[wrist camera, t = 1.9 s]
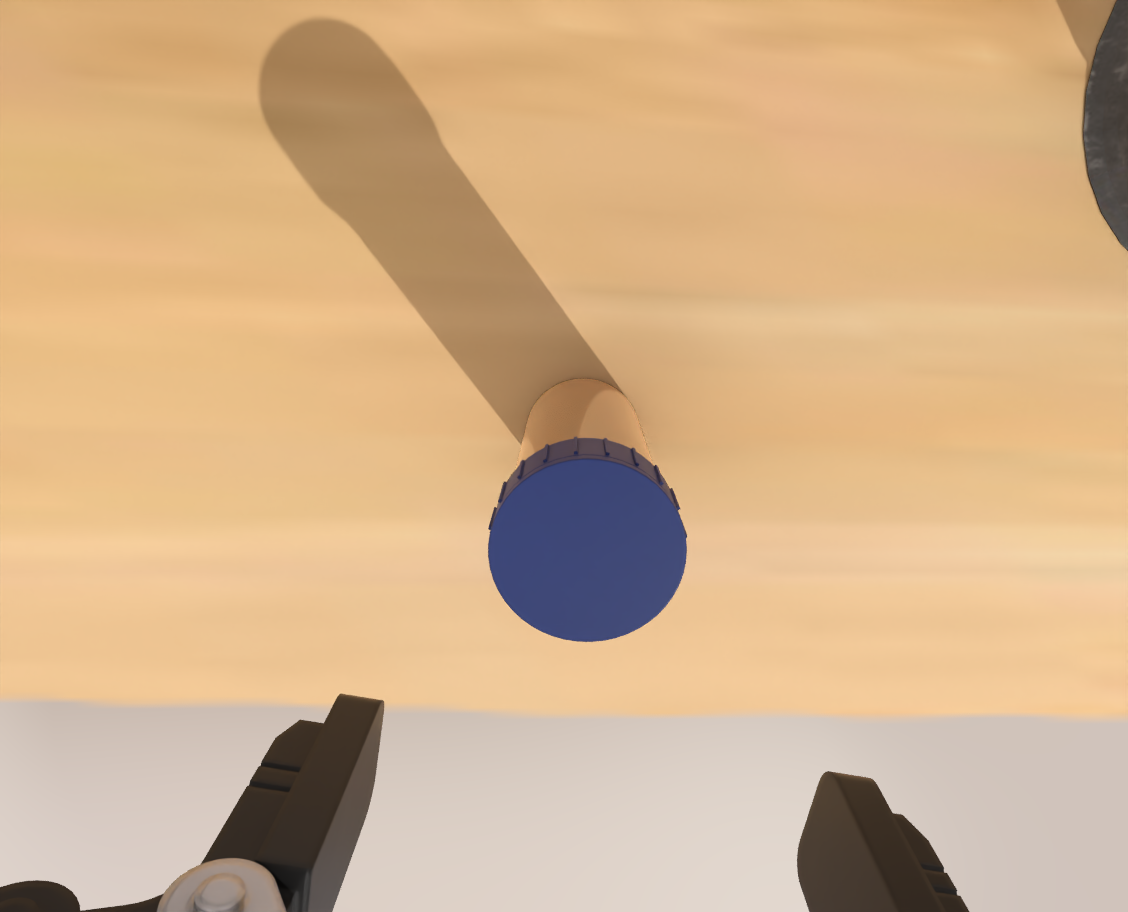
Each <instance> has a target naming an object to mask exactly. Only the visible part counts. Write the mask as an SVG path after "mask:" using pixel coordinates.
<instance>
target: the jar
mask: <svg viewBox="0 0 1128 912" xmlns="http://www.w3.org/2000/svg"><path fill="white" fill-rule="evenodd" d="M576 436H577V438H598V439H604V438H607V439H608V440H609V441H613V442H616V443H620V444H622V445H624V446H626V447H629V448H631V449H632V447H633V448H635V449H636V452H637V453H639V454H641V455H642V456H643V457H645V458H646V459H647V460H648V461H650V462H651V463H652V460H651V457H650V454H649V451H648V448H647V445H646V442H645V439H644V436H643V433H642V430H641V427H640V424H639V421H638V418H637V415H636V412H635V410H634V408H633V406H632V405H631V403H630V402H629V401H628V399H627V398H626V397H625V396H624V395H623V394H622V393H621V392H620V391H618V390H617V389H616V388H614V387H613V386H611V385H609V384H607V383H605V382H602V381H598V380H594V379H586V378H579V379H572V380H567V381H564V382H561V383H559V384H557V385H555V386H553V387H552V388H550V389H549V390H547V391H546V392H545V393H544V394H543V395H542V396H541V397H540V398H539V399H538V400H537V401H536V403H535V404H534V406H533V408H532V410H531V412H530V414H529V417H528V420H527V424H526V428H525V432H524V436H523V440H522V444H521V448H520V452H519V456H518V460H517V464H516V468H515V470H516V469H517V468H518V466H519V465H520V462H521V461H522V460H524V461H525V460H526V459H527V458H528V457H530V456H531V455H533V454H534V453H535V452H537V451H539V450H541V449H543V448H545V445H546V444H548V445H551V444H554V443H557V442H560V441H564V440H569V439H574V437H576ZM652 465H653V463H652Z"/></svg>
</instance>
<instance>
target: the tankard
mask: <svg viewBox="0 0 1128 912" xmlns="http://www.w3.org/2000/svg"><path fill="white" fill-rule="evenodd" d="M1084 143H1085V151H1086V159H1087V166H1088V174H1089V179H1090V181H1091V184H1092V187H1093V190H1094V193H1095V196H1096V198H1097V201H1098V204H1099V207H1100V210H1101V213H1102V214H1103V216H1104V218H1105V219H1106V221H1107V222H1108V224H1109V225H1110V227H1111V229H1112V230H1113V232H1114V233H1115V235H1116V236H1117V238H1118V240H1119V241H1120V243H1121V244H1122V245H1123V246H1124V247H1125V248H1126V249H1127V250H1128V0H1117V2H1116V4H1115V6H1114V9H1113V11H1112V13H1111V16H1110V18H1109V20H1108V23H1107V25H1106V27H1105V30H1104V32H1103V34H1102V37H1101V39H1100V41H1099V44H1098V46H1097V50H1096V54H1095V58H1094V62H1093V66H1092V70H1091V75H1090V79H1089V83H1088V87H1087V91H1086V105H1085V120H1084Z"/></svg>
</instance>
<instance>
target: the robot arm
mask: <svg viewBox="0 0 1128 912" xmlns="http://www.w3.org/2000/svg"><path fill="white" fill-rule="evenodd" d="M383 714H384V701H383V700H376V699H370V698H364V697H358V696H352V695H346V694H339V696H338V697H337V699H336V701H335V703H334V705H333V707H332V709H331V711H330V713H329V715H328V717H327V718H326V720H325V722H324V723H317V722H311V721H304V720H299V721H298V722H297V723H295V724H294V725H293V726H291V727H290V728H289V729H287V730H286V731H284V732H283V733H282V734H280V735H279V736H278V737H277V738H275V740H274V742H273V743H272V745H271V747H270V748H269V750H268V752H267V753H266V755H265V757H264V759H263V760H262V763H261V766H259V767H258V769H257V770H256V772H255V774H254V775H253V777H252V779H251V780H250V784H249V786H247V787H246V789H245V791H244V792H243V794H242V796H241V797H240V799H239V801H238V803H237V804H236V806H235V808H234V809H233V811H232V813H231V814H230V816H229V818H228V820H227V821H226V823H225V825H224V826H223V828H222V830H221V831H220V833H219V835H218V837H217V838H216V840H215V842H214V843H213V845H212V847H211V848H210V850H209V852H208V853H207V855H206V857H205V858H204V860H203V861H202V863H201V864H200V865H199V866H196V867H194V868H192V869H190V870H189V871H187V872H186V873H184V874H183V875H181V876H180V877H179V878H177V879H176V880H175V881H174V882H173V883H172V884H171V885H170V886H169V888H168V889H167V890H166V891H165V893H164V894H162V895H159V896H157V897H155V898H152V899H149V900H146V901H143V902H139V903H135V904H129V905H123V906H115V907H107V908H101V909H100V908H99V909H92V910H85V911H80V905H79V902H78V900H77V897H76V896H75V895H74V894H73V892H72V891H70V890H69V889H68V888H66V887H65V886H62V885H60V884H58V883H54V882H49V881H24V882H19V883H14V884H10V885H7V886H3V887H0V912H332V911H333V908H334V905H335V902H336V899H337V896H338V894H339V891H340V888H341V885H342V883H343V880H344V877H345V874H346V871H347V868H348V866H349V863H350V860H351V857H352V854H353V852H354V849H355V846H356V843H357V840H358V838H359V835H360V832H361V829H362V827H363V824H364V821H365V818H366V815H367V812H368V808H369V805H370V801H371V797H372V792H373V787H374V782H375V775H376V768H377V760H378V752H379V745H380V736H381V729H382V721H383ZM797 856H798V857H797V867H798V877H799V882H800V885H801V888H802V891H803V894H804V897H805V900H806V903H807V906H808V909H809V912H969V911H968V909H967V907H966V905H965V903H964V902H963V900H962V898H961V896H957V890H956V888H955V886H954V884H953V883H952V881H951V879H950V877H949V876H948V874H947V873H944V867H943V865H942V864H941V862H940V860H939V858H938V857H937V855H936V853H935V852H934V850H933V848H932V846H931V845H930V843H929V841H928V840H927V839H926V838H925V837H924V836H923V835H922V834H921V833H920V832H919V831H918V830H917V829H916V828H915V827H914V826H913V825H912V824H911V823H910V822H909V821H908V820H907V819H906V818H905V817H904V816H903V815H900V814H893V813H892V811H891V810H890V808H889V806H888V804H887V802H886V800H885V798H884V797H883V795H882V793H881V791H880V789H879V787H878V786H877V784H876V782H875V781H874V780H873V779H871V778H866V777H860V776H854V775H848V774H841V773H835V772H829V771H828V772H825V773H824V774H823V775H822V777H821V779H820V781H819V784H818V787H817V790H816V793H815V796H814V799H813V802H812V805H811V808H810V811H809V814H808V818H807V821H806V824H805V827H804V830H803V833H802V836H801V839H800V843H799V847H798V855H797Z"/></svg>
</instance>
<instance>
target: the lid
mask: <svg viewBox="0 0 1128 912" xmlns="http://www.w3.org/2000/svg"><path fill="white" fill-rule="evenodd" d="M679 509H680V507H679V504H678V502H677V499H676V496H675V494H674V491H673V489H672V488H671V489H669V487H668V485H667V483H666V481H665V479H664V478H663V476H662V475H661V474H660V471H659V468H658V466H657V465H655V466H653V465H652V463H651V462H650V461H648V460H647V459H646V458H645V457H643V456H642V455H641V454H639V453H637V452H636V449H635V448H633V447H632V449H631V448H629V447H626V446H624V445H622V444H620V443H616V442H613V441H609V440H608V439H607V438H604V439H598V438H577V436H576V437H574V439H569V440H564V441H560V442H557V443H554V444H551V445H548V444H546V445H545V448H543V449H541V450H539V451H537V452H535V453H534V454H533V455H531V456H530V457H528V458H527V459H526V460H525V461H524V460H522V461H521V462H520V465H519V466H518V468H517V469H516V470H515V471H514V472H513V474H512V475H511V476H510V478H509V479H508V481H507V482H505V481H504V483H503V486H502V489H501V493H500V496H499V500H498V506H497V508H496V507H494V511H493V514H492V518H491V521H490V524H489V530H491V531H490V536H489V543H488V558H489V564H490V570H491V573H492V577H493V580H494V582H495V584H496V587H497V589H498V591H499V593H500V594H501V596H502V597H503V599H504V601H505V602H506V603H507V604H508V605H509V607H510V608H511V609H512V610H513V611H514V612H515V613H516V614H517V615H518V616H519V617H520V618H521V619H523V620H524V621H525V622H527V623H528V624H530V625H531V626H533V627H534V628H536V629H538V630H540V631H542V632H544V633H546V634H549V635H551V636H554V637H558V638H562V639H565V640H572V641H582V642H593V641H604V640H608V639H613V638H617V637H620V636H623V635H626V634H628V633H630V632H632V631H635V630H637V629H639V628H640V627H642V626H643V625H645V624H646V623H648V622H649V621H651V620H652V619H653V618H654V617H655V616H657V615H658V614H659V613H660V612H661V611H662V610H663V608H664V607H665V606H666V605H667V604H668V602H669V601H670V600H671V598H672V597H673V595H674V594H675V592H676V590H677V588H678V586H679V584H680V581H681V579H682V576H683V573H684V568H685V564H686V554H687V546H686V538H687V534H686V531H685V528H684V526H683V523H682V520H681V518H680V515H679V513H678V510H679Z"/></svg>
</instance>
